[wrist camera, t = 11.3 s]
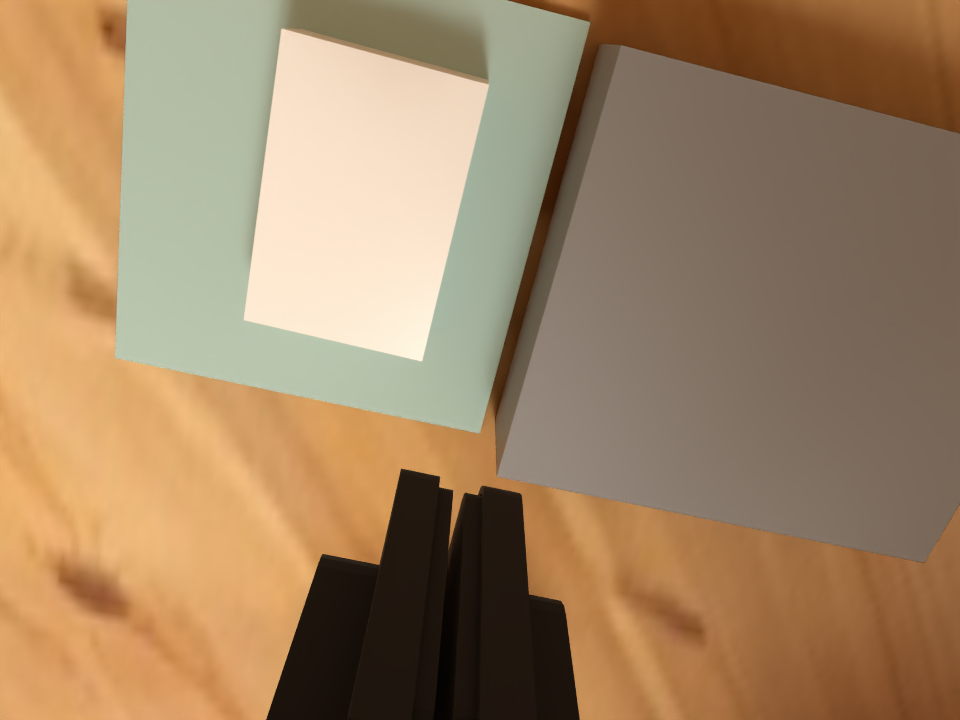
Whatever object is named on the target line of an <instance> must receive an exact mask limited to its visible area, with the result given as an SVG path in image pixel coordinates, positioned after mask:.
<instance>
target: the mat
mask: <svg viewBox="0 0 960 720" xmlns="http://www.w3.org/2000/svg"><path fill="white" fill-rule="evenodd" d="M590 23H591V22H588V21H584V20H580V19H576V18H573V17H569V16H565V15H561V14H557V13H554V12H550V11H546V10H542V9H538V8H534V7H531V6H527V5H523V4H519V3H515V2H512V1H508V0H127V27H126V56H125V85H124V114H123V143H122V172H121V201H120V231H119V260H118V289H117V318H116V347H115V358H117V359H122V360H127V361H132V362H137V363H141V364H146V365H151V366H156V367H161V368H166V369H170V370H175V371H180V372H185V373H190V374H194V375H199V376H204V377H209V378H214V379H219V380H223V381H228V382H233V383H238V384H243V385H248V386H252V387H257V388H262V389H267V390H272V391H276V392H281V393H286V394H291V395H296V396H301V397H305V398H310V399H315V400H320V401H325V402H330V403H334V404H339V405H344V406H349V407H354V408H358V409H363V410H368V411H373V412H378V413H383V414H387V415H392V416H397V417H402V418H407V419H411V420H416V421H421V422H426V423H431V424H436V425H440V426H445V427H450V428H455V429H460V430H465V431H469V432H474V433H479V434H480V431H481V427H482V423H483V420H484V416H485V412H486V408H487V405H488V401H489V397H490V394H491V390H492V386H493V383H494V379H495V375H496V371H497V368H498V364H499V360H500V357H501V353H502V349H503V346H504V342H505V338H506V334H507V331H508V327H509V323H510V320H511V316H512V312H513V308H514V305H515V301H516V297H517V294H518V290H519V286H520V283H521V279H522V275H523V271H524V268H525V264H526V260H527V257H528V253H529V249H530V245H531V242H532V238H533V234H534V231H535V227H536V223H537V220H538V216H539V212H540V208H541V205H542V201H543V197H544V194H545V190H546V186H547V182H548V179H549V175H550V171H551V168H552V164H553V160H554V157H555V153H556V149H557V145H558V142H559V138H560V134H561V131H562V127H563V123H564V119H565V116H566V112H567V108H568V105H569V101H570V97H571V94H572V90H573V86H574V82H575V79H576V75H577V71H578V68H579V64H580V60H581V56H582V53H583V49H584V45H585V42H586V38H587V34H588V31H589V27H590ZM281 29H304V30H307V31H311V32H315V33H318V34H322V35H326V36H329V37H333V38H337V39H340V40H344V41H348V42H351V43H355V44H359V45H362V46H366V47H370V48H373V49H377V50H381V51H384V52H388V53H392V54H395V55H399V56H403V57H407V58H410V59H414V60H418V61H421V62H425V63H429V64H432V65H436V66H440V67H443V68H447V69H451V70H454V71H458V72H462V73H465V74H469V75H473V76H476V77H480V78H484V79H487V80H489V88H488V92H487V96H486V100H485V104H484V108H483V113H482V117H481V121H480V125H479V129H478V133H477V137H476V141H475V146H474V150H473V154H472V158H471V162H470V166H469V170H468V174H467V178H466V183H465V187H464V191H463V195H462V199H461V203H460V207H459V211H458V216H457V220H456V224H455V228H454V232H453V236H452V240H451V244H450V248H449V253H448V257H447V261H446V265H445V269H444V273H443V277H442V281H441V285H440V290H439V294H438V298H437V302H436V306H435V310H434V314H433V318H432V323H431V327H430V331H429V335H428V339H427V343H426V347H425V351H424V355H423V360H422V361H418V360H413V359H409V358H405V357H401V356H396V355H392V354H388V353H383V352H379V351H375V350H370V349H366V348H362V347H357V346H353V345H349V344H344V343H340V342H336V341H331V340H327V339H323V338H318V337H314V336H310V335H306V334H301V333H297V332H293V331H288V330H284V329H280V328H275V327H271V326H267V325H262V324H258V323H254V322H249V321H245V320H244V313H245V305H246V298H247V290H248V282H249V275H250V267H251V259H252V252H253V244H254V236H255V228H256V221H257V213H258V205H259V198H260V190H261V182H262V175H263V167H264V159H265V152H266V144H267V136H268V129H269V121H270V113H271V106H272V98H273V90H274V82H275V75H276V67H277V59H278V52H279V44H280V36H281Z"/></svg>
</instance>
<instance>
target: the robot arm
mask: <svg viewBox="0 0 960 720" xmlns="http://www.w3.org/2000/svg"><path fill="white" fill-rule="evenodd" d="M439 482H440V477H439V476H434V475H429V474H424V473H420V472H415V471H410V470H405V469H401V472H400V476H399V481H398V485H397V489H396V494H395V498H394V503H393V507H392V512H391V516H390V521H389V525H388V530H387V534H386V538H385V543H384V547H383V552H382V556H381V561H380V565H376V564H371V563H366V562H361V561H356V560H351V559H346V558H341V557H336V556H330V555H325V554H322V556H321V558H320V561H319V563H318V566H317V569H316V572H315V575H314V578H313V581H312V584H311V587H310V590H309V593H308V596H307V599H306V602H305V605H304V608H303V611H302V614H301V617H300V620H299V623H298V626H297V629H296V632H295V635H294V638H293V641H292V644H291V647H290V650H289V653H288V656H287V659H286V662H285V665H284V668H283V671H282V674H281V677H280V680H279V683H278V686H277V689H276V692H275V695H274V698H273V701H272V704H271V707H270V710H269V713H268V716H267V719H266V720H580V719H579V711H578V703H577V696H576V688H575V681H574V673H573V665H572V658H571V650H570V643H569V635H568V627H567V620H566V613H565V609H564V605H563V604H562V602H561V601H559V600H553V599H548V598H543V597H538V596H533V595H529V591H528V576H527V562H526V547H525V533H524V518H523V504H522V495H521V494H520V493H516V492H511V491H506V490H501V489H497V488H492V487H487V486H482V487H481V488H480V491H479V494H478V495H473V494H468V493H465V494H464V496H463V499H462V502H461V506H460V510H459V514H458V517H457V521H456V525H455V528H454V532H453V536H452V540H451V543H450V547H449V535H450V523H451V512H452V500H453V490H449V489H444V488H439ZM448 547H449V551H448Z"/></svg>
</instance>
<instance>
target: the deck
mask: <svg viewBox="0 0 960 720" xmlns="http://www.w3.org/2000/svg"><path fill="white" fill-rule="evenodd" d="M495 436H496V470H497V477H501V478H506V479H511V480H516V481H521V482H526V483H531V484H536V485H541V486H546V487H551V488H556V489H561V490H566V491H570V492H575V493H580V494H585V495H590V496H595V497H600V498H605V499H610V500H615V501H620V502H625V503H630V504H635V505H640V506H645V507H650V508H654V509H659V510H664V511H669V512H674V513H679V514H684V515H689V516H694V517H699V518H704V519H709V520H714V521H719V522H724V523H729V524H734V525H738V526H743V527H748V528H753V529H758V530H763V531H768V532H773V533H778V534H783V535H788V536H793V537H798V538H803V539H808V540H813V541H817V542H822V543H827V544H832V545H837V546H842V547H847V548H852V549H857V550H862V551H867V552H872V553H877V554H882V555H887V556H892V557H897V558H901V559H906V560H911V561H916V562H921V563H925V561H926V559H927V558H928V556H929V554H930V553H931V551H932V549H933V548H934V546H935V545H936V543H937V541H938V540H939V538H940V536H941V535H942V533H943V531H944V530H945V528H946V526H947V525H948V523H949V521H950V520H951V518H952V516H953V515H954V513H955V511H956V510H957V508H958V507H959V505H960V133H956V132H952V131H948V130H945V129H941V128H937V127H933V126H929V125H925V124H922V123H918V122H914V121H910V120H906V119H902V118H899V117H895V116H891V115H887V114H883V113H879V112H876V111H872V110H868V109H864V108H860V107H856V106H853V105H849V104H845V103H841V102H837V101H833V100H830V99H826V98H822V97H818V96H814V95H810V94H807V93H803V92H799V91H795V90H791V89H787V88H784V87H780V86H776V85H772V84H768V83H764V82H761V81H757V80H753V79H749V78H745V77H741V76H738V75H734V74H730V73H726V72H722V71H718V70H715V69H711V68H707V67H703V66H699V65H695V64H692V63H688V62H684V61H680V60H676V59H672V58H669V57H665V56H661V55H657V54H653V53H649V52H646V51H642V50H638V49H634V48H630V47H626V46H623V45H614V44H602V43H600V44H599V47H598V51H597V54H596V58H595V62H594V65H593V69H592V73H591V76H590V80H589V83H588V87H587V91H586V94H585V98H584V101H583V105H582V109H581V112H580V116H579V119H578V123H577V127H576V130H575V134H574V137H573V141H572V145H571V148H570V152H569V155H568V159H567V163H566V166H565V170H564V173H563V177H562V181H561V184H560V188H559V191H558V195H557V199H556V202H555V206H554V210H553V213H552V217H551V220H550V224H549V228H548V231H547V235H546V238H545V242H544V246H543V249H542V253H541V256H540V260H539V264H538V267H537V271H536V274H535V278H534V282H533V285H532V289H531V292H530V296H529V300H528V303H527V307H526V310H525V314H524V318H523V321H522V325H521V329H520V332H519V336H518V339H517V343H516V347H515V350H514V354H513V357H512V361H511V365H510V368H509V372H508V375H507V379H506V383H505V386H504V390H503V393H502V397H501V401H500V404H499V408H498V411H497V415H496V419H495Z"/></svg>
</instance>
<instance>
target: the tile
mask: <svg viewBox="0 0 960 720" xmlns="http://www.w3.org/2000/svg"><path fill="white" fill-rule="evenodd" d="M488 88H489V80H487V79H484V78H480V77H476V76H473V75H469V74H465V73H462V72H458V71H454V70H451V69H447V68H443V67H440V66H436V65H432V64H429V63H425V62H421V61H418V60H414V59H410V58H407V57H403V56H399V55H395V54H392V53H388V52H384V51H381V50H377V49H373V48H370V47H366V46H362V45H359V44H355V43H351V42H348V41H344V40H340V39H337V38H333V37H329V36H326V35H322V34H318V33H315V32H311V31H307V30H304V29H281V36H280V44H279V52H278V59H277V67H276V75H275V82H274V90H273V98H272V106H271V113H270V121H269V129H268V136H267V144H266V152H265V159H264V167H263V175H262V182H261V190H260V198H259V205H258V213H257V221H256V228H255V236H254V244H253V252H252V259H251V267H250V275H249V282H248V290H247V298H246V305H245V313H244V320H245V321H249V322H254V323H258V324H262V325H267V326H271V327H275V328H280V329H284V330H288V331H293V332H297V333H301V334H306V335H310V336H314V337H318V338H323V339H327V340H331V341H336V342H340V343H344V344H349V345H353V346H357V347H362V348H366V349H370V350H375V351H379V352H383V353H388V354H392V355H396V356H401V357H405V358H409V359H413V360H418V361H422V360H423V355H424V351H425V347H426V343H427V339H428V335H429V331H430V327H431V323H432V318H433V314H434V310H435V306H436V302H437V298H438V294H439V290H440V285H441V281H442V277H443V273H444V269H445V265H446V261H447V257H448V253H449V248H450V244H451V240H452V236H453V232H454V228H455V224H456V220H457V216H458V211H459V207H460V203H461V199H462V195H463V191H464V187H465V183H466V178H467V174H468V170H469V166H470V162H471V158H472V154H473V150H474V146H475V141H476V137H477V133H478V129H479V125H480V121H481V117H482V113H483V108H484V104H485V100H486V96H487V92H488Z"/></svg>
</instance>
